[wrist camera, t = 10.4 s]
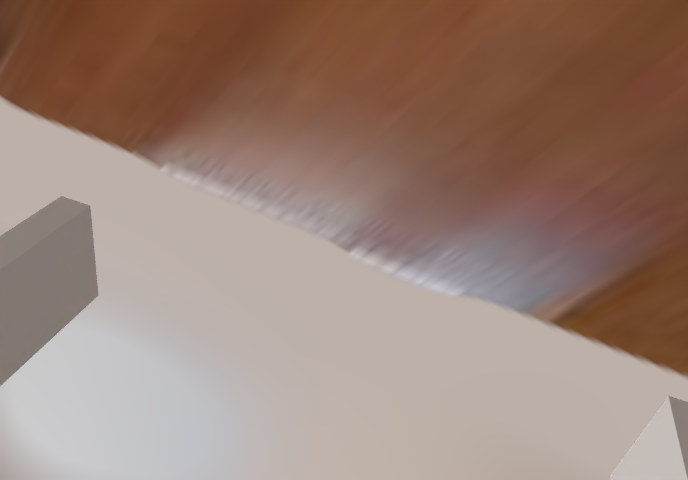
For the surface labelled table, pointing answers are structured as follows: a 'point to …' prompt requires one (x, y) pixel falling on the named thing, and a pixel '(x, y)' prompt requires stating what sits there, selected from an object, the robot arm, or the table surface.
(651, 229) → the table surface
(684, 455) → the robot arm
